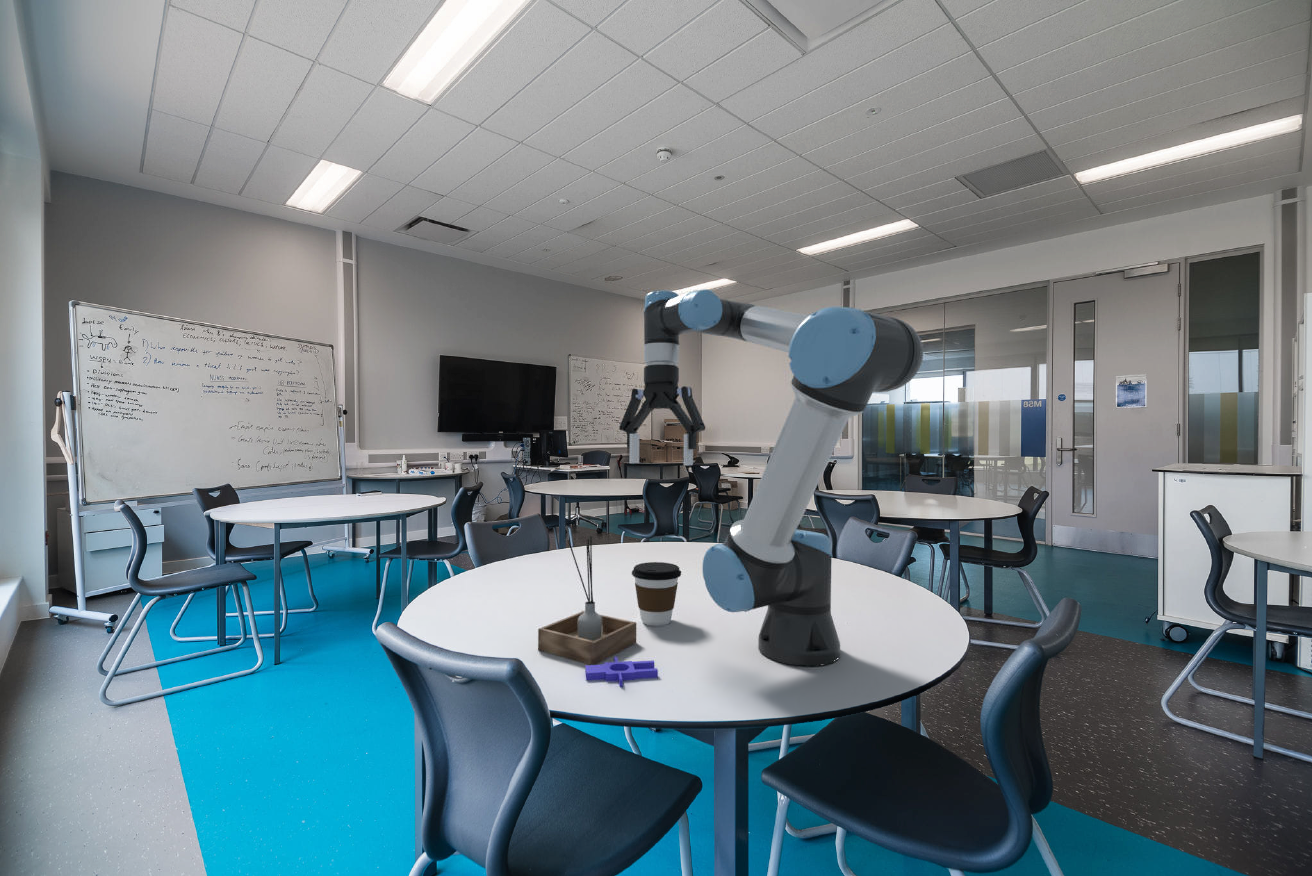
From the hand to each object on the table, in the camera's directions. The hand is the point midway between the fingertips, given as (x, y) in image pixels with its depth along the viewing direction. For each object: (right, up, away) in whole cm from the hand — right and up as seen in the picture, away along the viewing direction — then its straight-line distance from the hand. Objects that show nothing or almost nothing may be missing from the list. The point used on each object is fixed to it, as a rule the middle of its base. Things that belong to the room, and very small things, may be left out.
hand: (660, 464), depth 123 cm
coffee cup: (-1, -35, +3) cm, 35 cm away
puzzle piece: (-7, -35, -25) cm, 44 cm away
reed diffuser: (-15, -34, -12) cm, 39 cm away
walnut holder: (-14, -35, -13) cm, 39 cm away
